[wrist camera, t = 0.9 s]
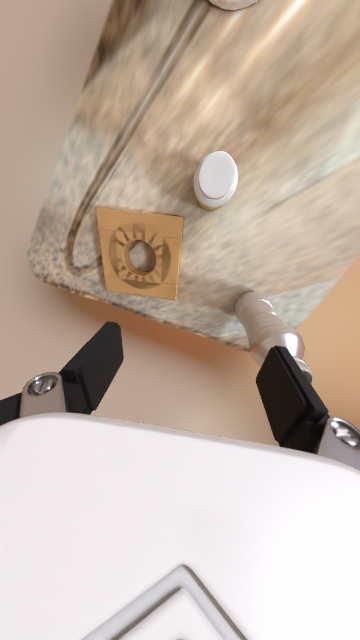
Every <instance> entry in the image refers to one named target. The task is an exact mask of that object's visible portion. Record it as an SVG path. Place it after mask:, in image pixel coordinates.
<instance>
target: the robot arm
mask: <svg viewBox="0 0 360 640" xmlns="http://www.w3.org/2000/svg"><path fill="white" fill-rule="evenodd" d="M209 1H210V2H211V3H212V4H214V5H216V6H218V7H220V8H222V9H228V10H237V9H242V8H246V7H248V6H250V5H252V4H254V3H255V2H257V1H258V0H209ZM123 358H124V357H123V348H122V338H121V328H120V326H119V325H118V324H117V323H115V322H106V324H104V325H103V326H102V328H101V329H100V330H99V331H98V332H97V333H96V334H95V335H94V336H93V337H92V338H91V339H90V340H89V341H88V342H87V343H86V344H85V345H84V346H83V347H82V348H81V349H80V350H79V351H78V353H77V354H76V355H75V356H74V357H73V358H72V359H71V360H70V361H69V362H68V363H67V364H66V365H65V367H64V368H63V369H62V370H61V371H60V372H59V373H55V372H47V373H43V374H40V375H38V376H36V377H34V378H33V379H31V380H30V381H29V382H27V384H26V385H25V386H24V388H23V391H22V392H21V393H18V394H16V395H13V396H11V397H8V398H5V399H3V400H0V640H360V430H358V429H357V428H356V427H355V426H354V425H352V424H351V423H349V422H348V421H346V420H344V419H341V418H338V417H330V416H329V415H328V410H327V408H326V407H325V405H324V403H323V402H322V400H321V399H320V397H319V396H318V394H317V393H316V391H315V390H314V388H313V387H312V385H311V384H310V382H309V381H308V379H307V378H306V376H305V375H304V373H303V372H302V370H301V369H300V367H299V365H298V364H297V362H296V361H295V359H294V358H293V356H292V355H291V353H290V352H289V350H288V349H287V348H286V347H284V346H276V345H275V346H274V347H271V348H270V350H269V352H268V354H267V356H266V358H265V360H264V362H263V365H262V367H261V369H260V371H259V373H258V375H257V377H256V384H257V387H258V390H259V393H260V396H261V399H262V402H263V405H264V408H265V411H266V414H267V417H268V420H269V423H270V426H271V429H272V432H273V435H274V438H275V440H276V441H278V443H279V445H280V447H278V446H272V445H267V444H262V443H256V442H249V441H244V440H239V439H233V438H227V437H222V436H216V435H210V434H204V433H198V432H192V431H187V430H181V429H175V428H169V427H163V426H157V425H151V424H145V423H139V422H133V421H126V420H120V419H114V418H108V417H101V416H94V415H90V414H91V412H92V411H93V410H96V409H97V407H98V405H99V403H100V402H101V400H102V398H103V396H104V394H105V392H106V391H107V389H108V387H109V385H110V384H111V382H112V380H113V378H114V377H115V375H116V373H117V371H118V369H119V367H120V366H121V364H122V362H123Z"/></svg>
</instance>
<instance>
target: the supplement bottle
mask: <svg viewBox="0 0 360 640" xmlns="http://www.w3.org/2000/svg"><path fill="white" fill-rule="evenodd" d="M237 181H238V172H237V167H236V165H235V163H234V161H233V159H232V158H231V156H230V155H229V154H227V153H226V152H223V151H217V152H213V153H211V154H209V155H207V156H206V157H205V158H204V159H203V160H202V161H201V162H200V164H199V165H198V167H197V169H196V172H195V175H194V191H195V195H196V199H197V201H198V203H199V204H200V205H201V206H202V207H203V208H204V209H206V210H209V211H213V210H217V209H219V208H220V207H222V206H223V205H224V204H225V203H226V202H227V201H228V200H229V199H230V198H231V197H232V195H233V193H234V191H235V189H236V186H237Z"/></svg>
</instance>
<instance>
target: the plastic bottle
mask: <svg viewBox="0 0 360 640" xmlns="http://www.w3.org/2000/svg"><path fill="white" fill-rule="evenodd" d="M235 315H236V317H237V319H238V320H239V322H240V323H241V324H242V325H243V327H244V328H245V330H246V333H247V336H248V341H249V347H250V352H251V355H252V358H253V360H254V361H255V362H256V363H257V364H258V365H259V366H260V367H262V365H263V362H264V360H265V358H266V356H267V354H268V352H269V350H270V348H271V347H274V346H275V345H276V346H284V347H286V348H287V349H288V350H289V352H290V353H291V355H292V356H293V358H294V359H295V361H296V362H297V364H298V365H299V367H300V369H301V370H302V372H303V373H304V375H305V376H306V378H307V379H308V381H309V382H310V384H311V385H312V383H313V381H314V376H313V374H312V372H311V371H310V369H309V368H308V365H307V364H306V362H305V361H304V360H303V356H304V351H305V346H304V342H303V340H302V337H301V336H300V335H299V333H297V332H296V331H295V330H294V329H293V328H291V327H290V326H289V325H287V324H286V323H285V322H283V321H282V320H281V319H280V318H279V317H278V316H277V315H276V314H275V312H274V310H273V309H272V306H271V303H270V301H269V299H268V298H267V297H266V296H264V295H263V294H261V293H258V292H248V293H246V294H244V295H242V296H241V297H240V298H239V299H238V300H237V302H236V305H235Z"/></svg>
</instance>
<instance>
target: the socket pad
mask: <svg viewBox="0 0 360 640" xmlns="http://www.w3.org/2000/svg"><path fill="white" fill-rule="evenodd" d="M96 215H97V223H98V231H99V239H100V246H101V254H102V262H103V269H104V276H105V284H106V291H112V292H120V293H127V294H135V295H142V296H150V297H158V298H165V299H173V300H175V299H176V297H177V292H178V280H179V270H180V259H181V249H182V237H183V227H184V217H179V216H170V215H160V214H151V213H142V212H133V211H123V210H114V209H105V208H96ZM135 240H143V241H145V242H146V243H148V244H149V245H150V246H151V247H152V248H153V249H154V252H155V255H156V266H155V268H154V270H152V271H149V272H144V271H140V270H139V269H137V268H136V267H135V266H134V265H133V264H132V262H131V260H130V258H129V249H130V246H131V244H132V243H133V242H134V241H135Z"/></svg>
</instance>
